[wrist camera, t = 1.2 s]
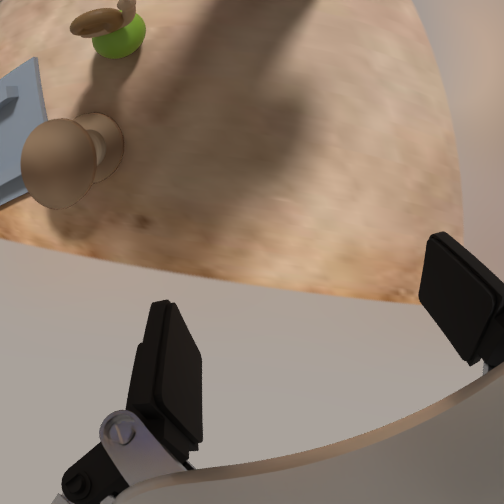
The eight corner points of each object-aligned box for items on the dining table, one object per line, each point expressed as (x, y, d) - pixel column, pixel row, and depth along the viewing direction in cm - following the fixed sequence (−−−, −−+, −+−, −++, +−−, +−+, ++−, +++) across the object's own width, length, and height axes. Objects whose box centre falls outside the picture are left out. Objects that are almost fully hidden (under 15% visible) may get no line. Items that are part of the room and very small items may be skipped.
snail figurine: (162, 51, 23) (131, 23, 13) (105, 68, 23) (50, 55, 13) (157, 9, 21) (128, -34, 10) (101, 26, 20) (49, -1, 10)
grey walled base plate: (-31, 106, 20) (-46, 110, 17) (37, 57, 20) (21, 55, 17) (-6, 207, 28) (-20, 217, 25) (62, 176, 28) (48, 184, 25)
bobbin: (56, 127, 25) (11, 140, 17) (115, 102, 25) (79, 105, 17) (73, 189, 29) (36, 218, 21) (131, 170, 29) (103, 195, 21)
